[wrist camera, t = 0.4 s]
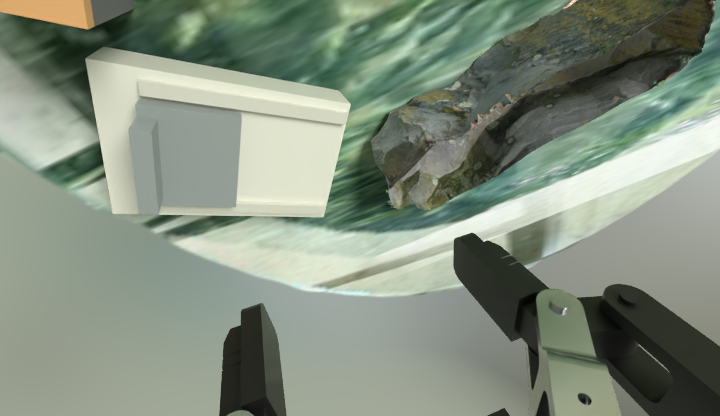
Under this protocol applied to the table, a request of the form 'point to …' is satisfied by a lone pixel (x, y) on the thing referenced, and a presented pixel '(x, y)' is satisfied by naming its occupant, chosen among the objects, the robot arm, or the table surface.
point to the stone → (534, 93)
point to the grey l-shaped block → (184, 156)
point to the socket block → (258, 130)
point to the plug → (68, 10)
